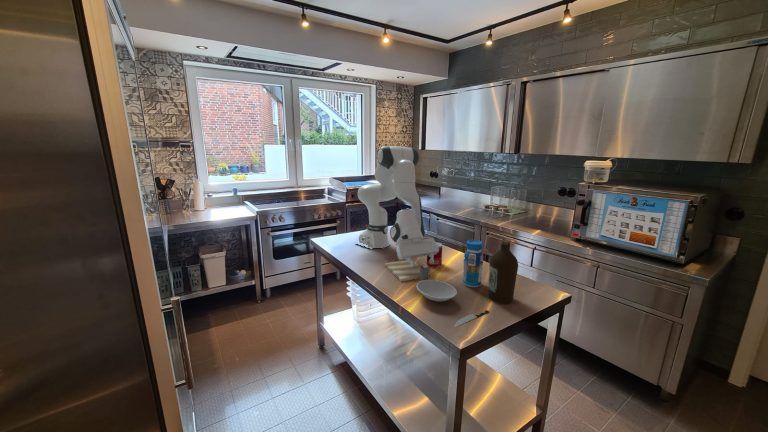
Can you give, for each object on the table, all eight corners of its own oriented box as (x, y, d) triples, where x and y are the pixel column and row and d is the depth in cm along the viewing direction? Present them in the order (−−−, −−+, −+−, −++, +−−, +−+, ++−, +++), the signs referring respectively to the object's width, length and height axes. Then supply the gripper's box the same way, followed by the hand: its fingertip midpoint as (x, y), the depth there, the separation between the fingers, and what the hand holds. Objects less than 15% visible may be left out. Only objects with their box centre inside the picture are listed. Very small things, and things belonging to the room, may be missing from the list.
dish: (464, 302, 121) (464, 290, 120) (441, 314, 112) (441, 302, 111) (431, 286, 134) (431, 276, 133) (408, 296, 125) (408, 285, 124)
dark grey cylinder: (423, 286, 134) (423, 268, 132) (418, 282, 138) (418, 264, 136) (430, 285, 135) (430, 266, 133) (425, 281, 139) (425, 263, 137)
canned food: (444, 263, 159) (445, 244, 157) (435, 268, 154) (436, 247, 151) (432, 260, 164) (432, 241, 162) (423, 264, 159) (424, 244, 156)
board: (384, 266, 157) (384, 263, 156) (410, 261, 162) (410, 259, 162) (400, 281, 139) (400, 278, 138) (429, 276, 144) (429, 273, 144)
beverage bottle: (458, 281, 139) (460, 240, 134) (473, 278, 142) (475, 238, 137) (470, 289, 131) (473, 246, 126) (485, 285, 134) (488, 243, 130)
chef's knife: (446, 325, 106) (452, 329, 104) (446, 322, 106) (452, 326, 103) (483, 309, 116) (489, 312, 113) (483, 307, 116) (489, 310, 113)
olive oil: (507, 292, 128) (513, 236, 123) (519, 304, 118) (525, 244, 112) (483, 292, 128) (487, 236, 122) (492, 305, 118) (497, 245, 112)
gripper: (430, 239, 149) (440, 264, 142) (392, 243, 141) (400, 270, 135) (435, 232, 144) (445, 258, 137) (396, 237, 136) (405, 265, 130)
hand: (423, 264), depth 136 cm, fingers open, 8 cm apart
